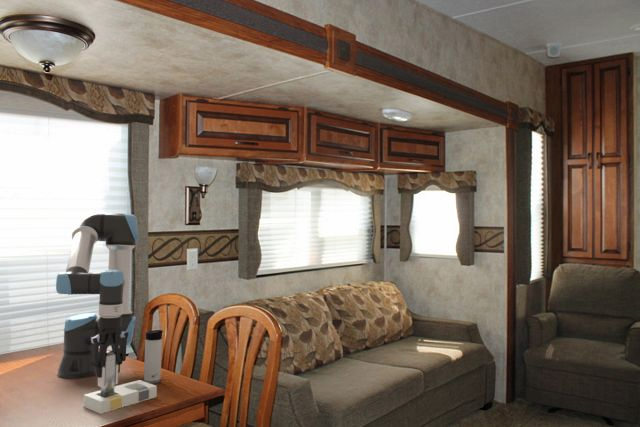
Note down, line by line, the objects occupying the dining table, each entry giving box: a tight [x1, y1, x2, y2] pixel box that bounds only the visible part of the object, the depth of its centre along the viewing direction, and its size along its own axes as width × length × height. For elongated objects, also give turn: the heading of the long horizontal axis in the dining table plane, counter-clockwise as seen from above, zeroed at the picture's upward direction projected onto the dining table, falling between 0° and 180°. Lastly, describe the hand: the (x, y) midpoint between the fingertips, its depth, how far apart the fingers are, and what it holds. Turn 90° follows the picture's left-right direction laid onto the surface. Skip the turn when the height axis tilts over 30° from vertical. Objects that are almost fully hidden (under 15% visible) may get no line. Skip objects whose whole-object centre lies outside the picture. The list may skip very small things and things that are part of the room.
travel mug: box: [143, 329, 164, 385], centre depth 214 cm, size 6×7×20 cm
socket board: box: [83, 379, 158, 415], centre depth 191 cm, size 10×22×4 cm, turn 145°
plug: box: [100, 350, 116, 398], centre depth 186 cm, size 4×4×15 cm
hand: (107, 384), depth 186 cm, fingers closed on plug, 4 cm apart
